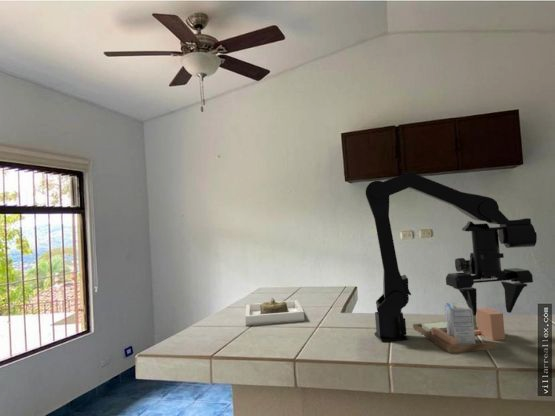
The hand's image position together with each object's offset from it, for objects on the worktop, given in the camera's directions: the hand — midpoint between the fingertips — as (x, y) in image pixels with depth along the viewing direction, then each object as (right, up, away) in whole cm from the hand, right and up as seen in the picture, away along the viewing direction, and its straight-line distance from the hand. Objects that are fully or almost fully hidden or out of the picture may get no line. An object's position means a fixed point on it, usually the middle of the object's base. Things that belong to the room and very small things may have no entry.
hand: (491, 313), depth 95 cm
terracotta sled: (-5, -6, -2) cm, 8 cm away
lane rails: (-9, -6, +1) cm, 11 cm away
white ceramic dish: (-53, -10, +35) cm, 64 cm away
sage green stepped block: (-7, -6, +8) cm, 12 cm away
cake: (-53, -10, +36) cm, 64 cm away
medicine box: (-8, -6, -3) cm, 11 cm away
